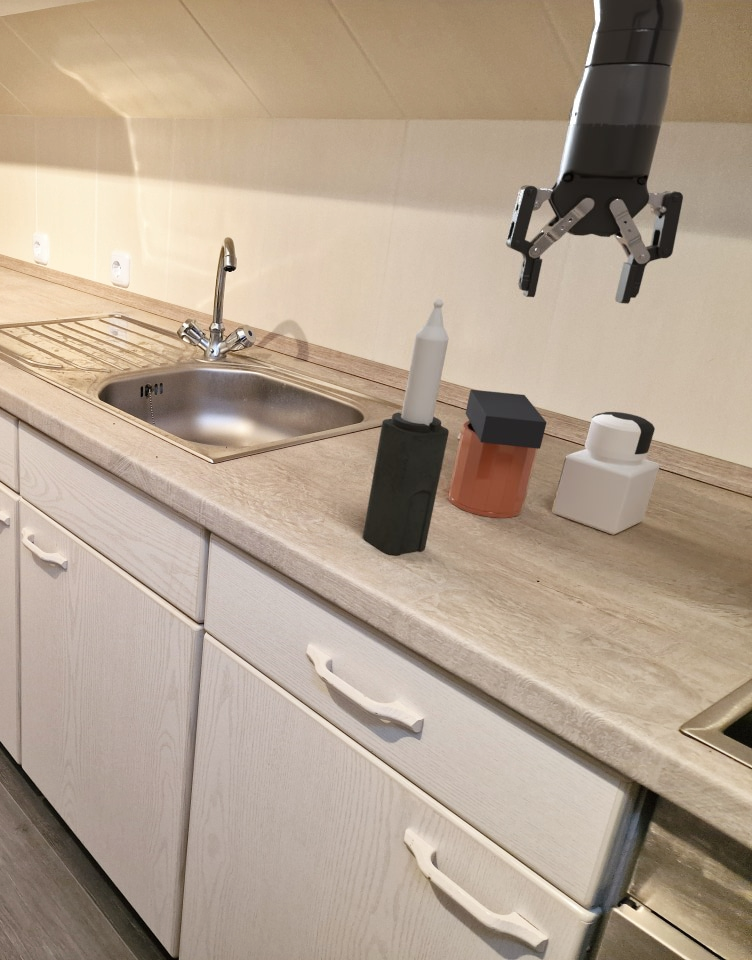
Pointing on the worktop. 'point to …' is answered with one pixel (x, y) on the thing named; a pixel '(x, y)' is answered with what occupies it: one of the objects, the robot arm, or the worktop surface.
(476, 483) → the cup
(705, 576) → the worktop surface
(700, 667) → the worktop surface
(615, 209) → the robot arm
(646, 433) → the medicine bottle
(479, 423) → the dark grey block
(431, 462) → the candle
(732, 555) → the worktop surface
